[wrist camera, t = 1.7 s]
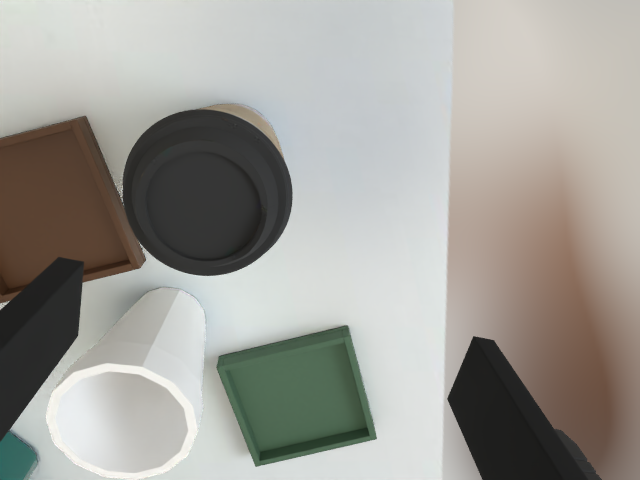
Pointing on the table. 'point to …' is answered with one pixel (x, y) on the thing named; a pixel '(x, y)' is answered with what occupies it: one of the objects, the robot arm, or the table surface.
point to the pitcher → (16, 459)
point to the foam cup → (135, 391)
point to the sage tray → (298, 396)
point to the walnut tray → (60, 207)
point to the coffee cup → (208, 189)
